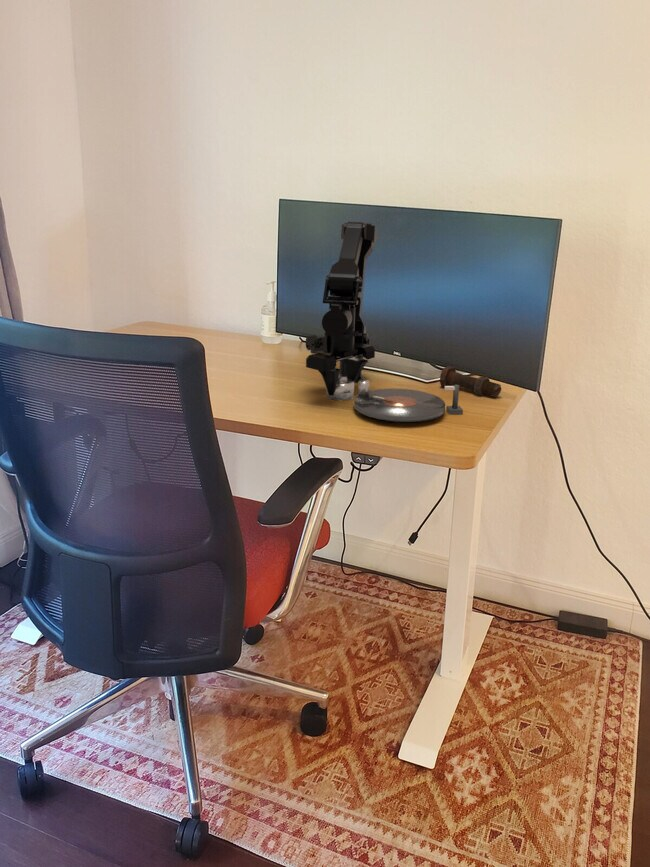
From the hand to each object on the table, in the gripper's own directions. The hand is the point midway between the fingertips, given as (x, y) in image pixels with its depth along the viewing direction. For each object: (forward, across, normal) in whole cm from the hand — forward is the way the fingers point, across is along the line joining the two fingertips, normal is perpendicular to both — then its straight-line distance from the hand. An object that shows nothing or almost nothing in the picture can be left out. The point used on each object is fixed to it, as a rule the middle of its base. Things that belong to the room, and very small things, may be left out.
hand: (340, 392), depth 177 cm
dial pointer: (+1, -9, +26) cm, 27 cm away
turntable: (0, 0, +17) cm, 17 cm away
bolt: (+2, -25, +20) cm, 32 cm away
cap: (+1, 0, 0) cm, 1 cm away
